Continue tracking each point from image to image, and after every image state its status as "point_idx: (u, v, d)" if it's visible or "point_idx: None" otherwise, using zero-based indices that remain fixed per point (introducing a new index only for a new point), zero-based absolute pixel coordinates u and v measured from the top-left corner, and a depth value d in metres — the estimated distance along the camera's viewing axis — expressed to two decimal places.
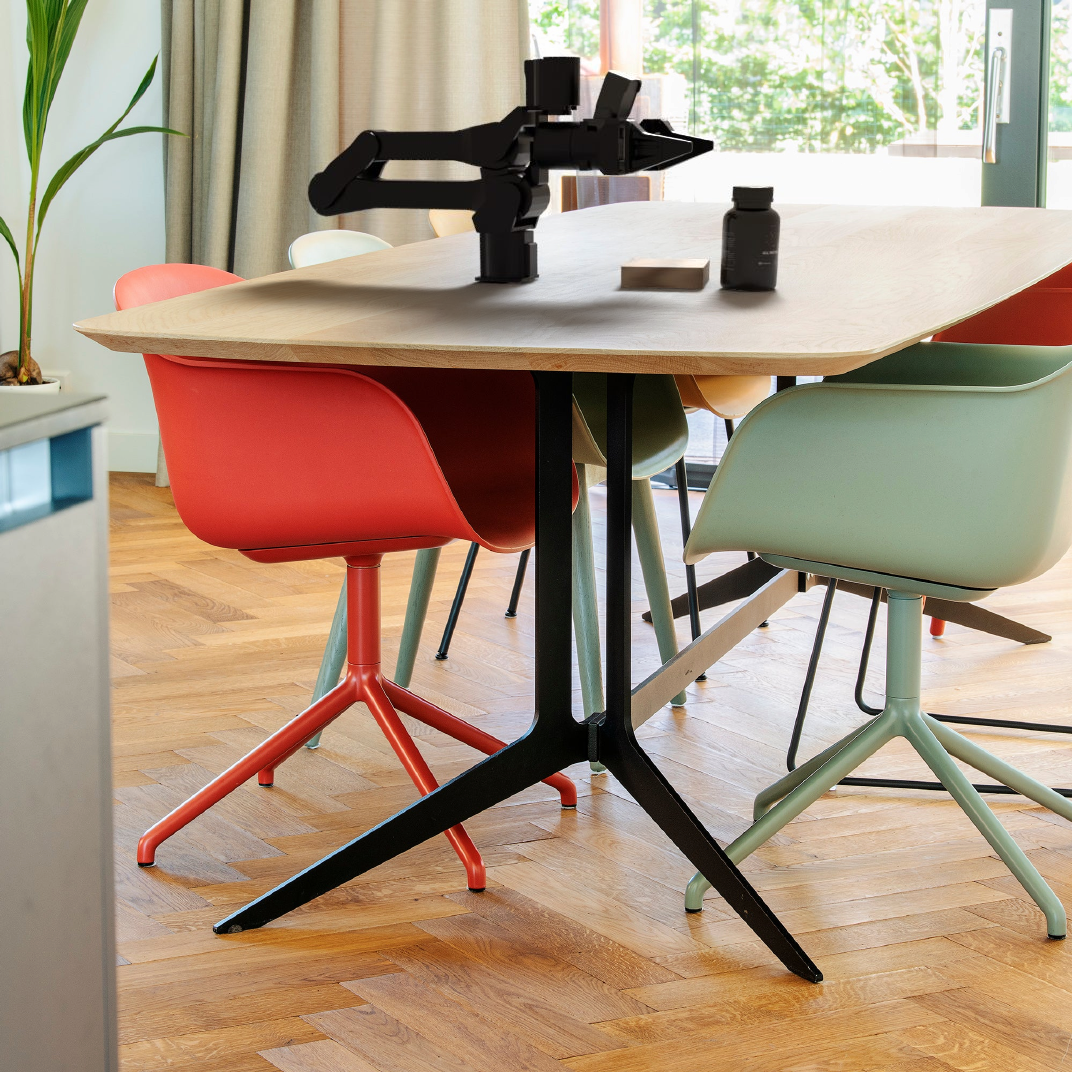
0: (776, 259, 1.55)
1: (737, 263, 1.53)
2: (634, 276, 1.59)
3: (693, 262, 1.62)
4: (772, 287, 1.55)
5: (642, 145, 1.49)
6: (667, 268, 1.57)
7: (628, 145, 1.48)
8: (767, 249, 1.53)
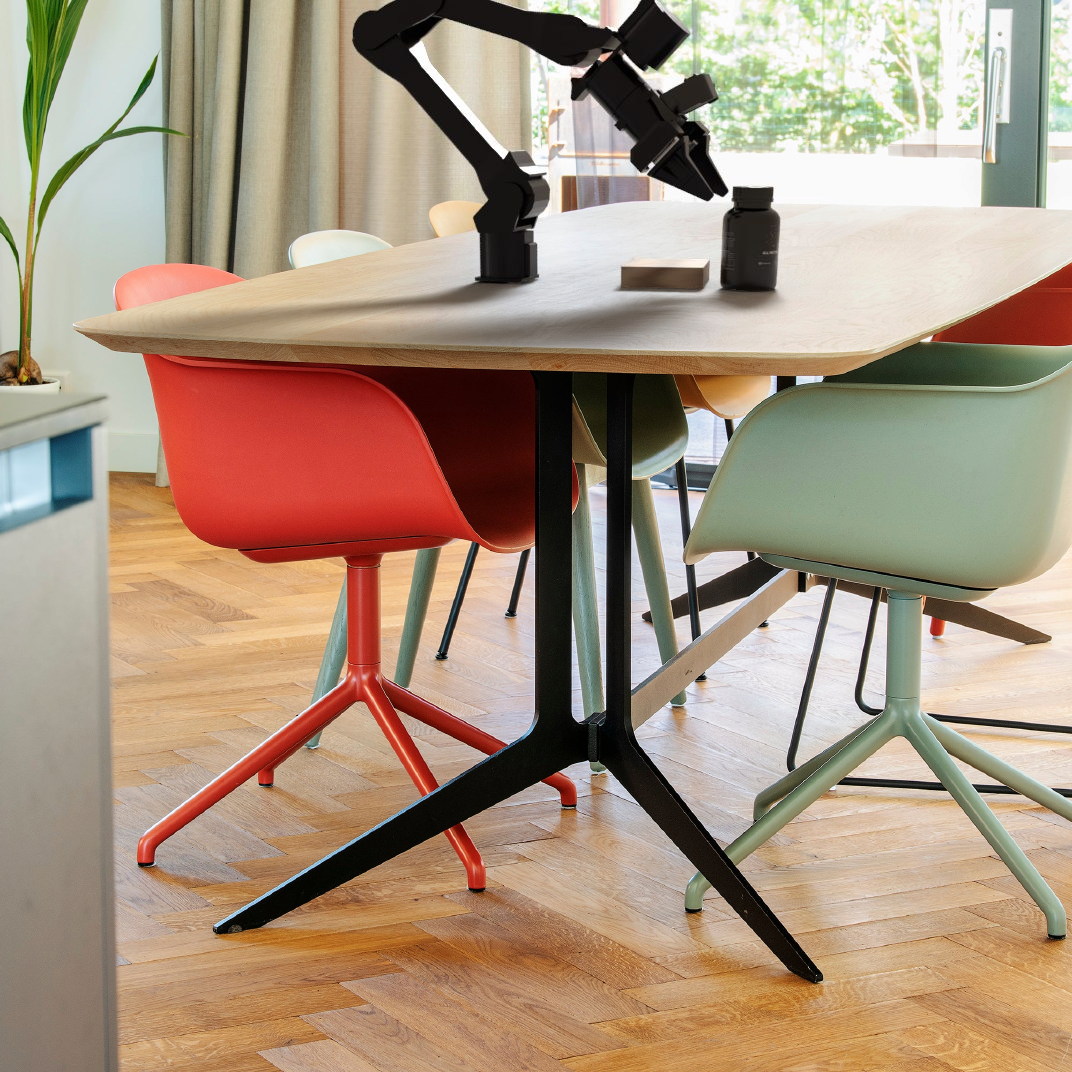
0: (776, 259, 1.55)
1: (737, 263, 1.53)
2: (634, 276, 1.59)
3: (693, 262, 1.62)
4: (772, 287, 1.55)
5: (677, 162, 1.50)
6: (667, 268, 1.57)
7: (667, 157, 1.48)
8: (767, 249, 1.53)
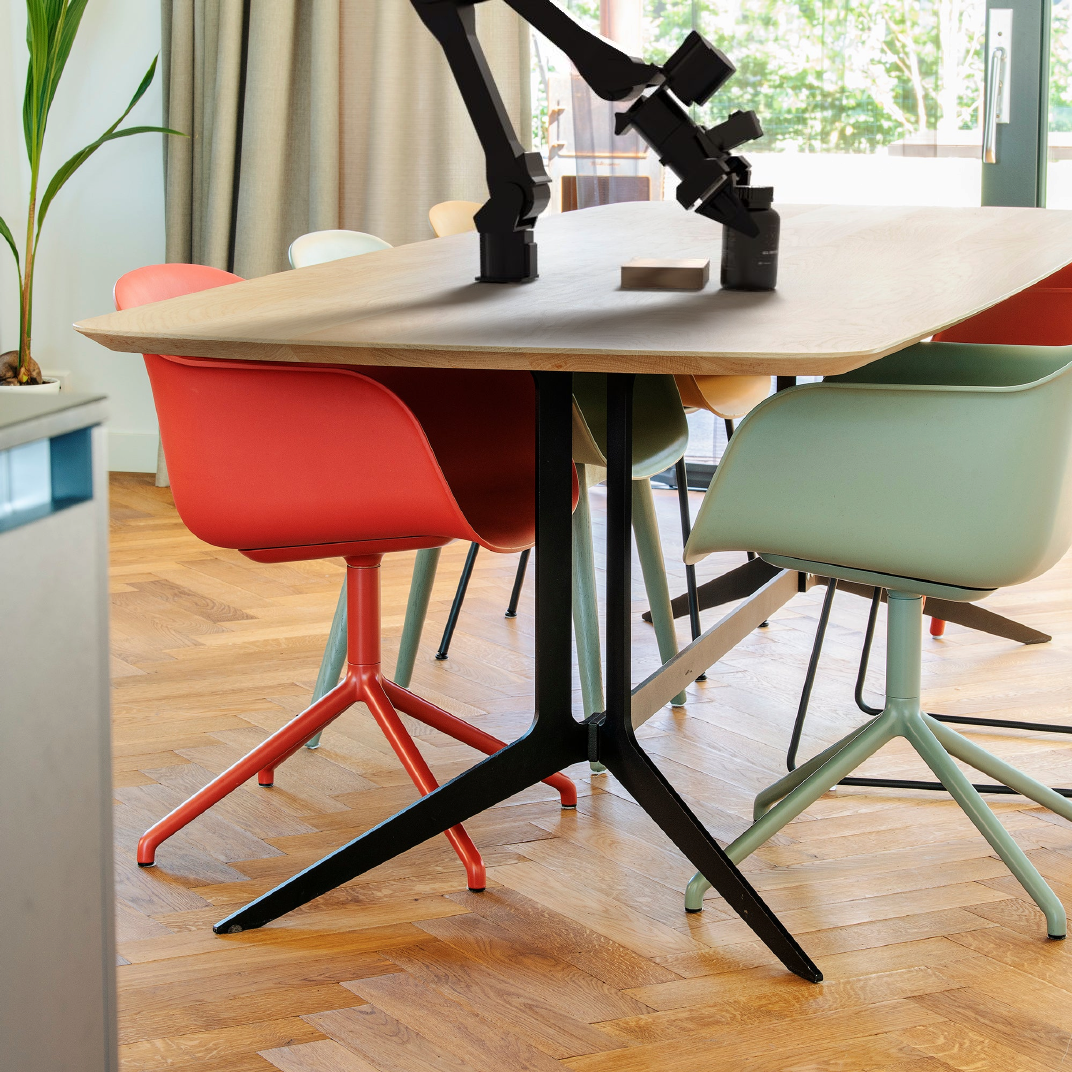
0: (776, 259, 1.54)
1: (737, 263, 1.53)
2: (634, 276, 1.59)
3: (693, 262, 1.62)
4: (772, 287, 1.55)
5: (724, 199, 1.50)
6: (667, 268, 1.57)
7: (715, 194, 1.48)
8: (767, 248, 1.53)
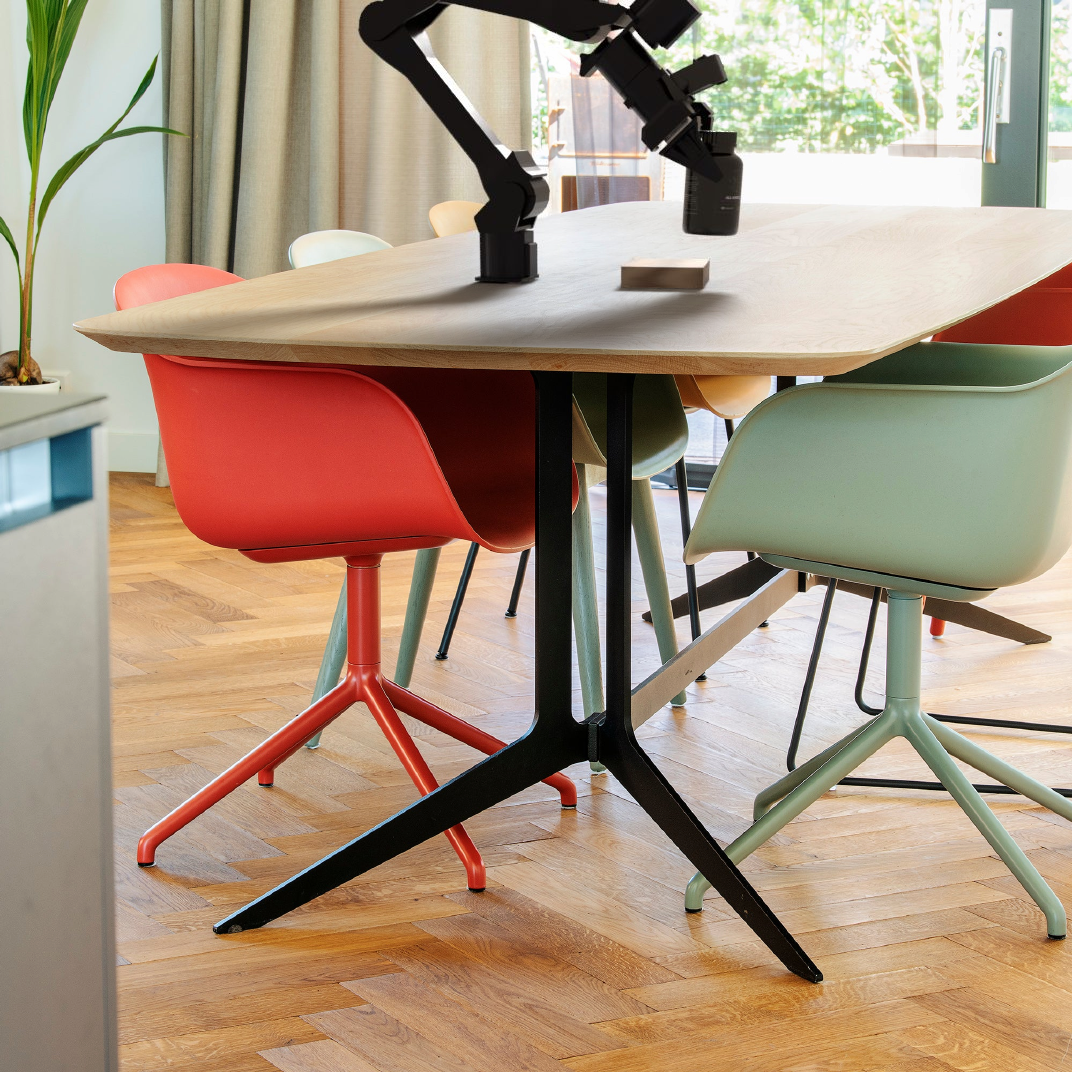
0: (738, 205, 1.55)
1: (700, 208, 1.54)
2: (634, 276, 1.59)
3: (693, 262, 1.62)
4: (734, 233, 1.56)
5: (688, 142, 1.51)
6: (667, 268, 1.57)
7: (680, 136, 1.49)
8: (730, 194, 1.54)
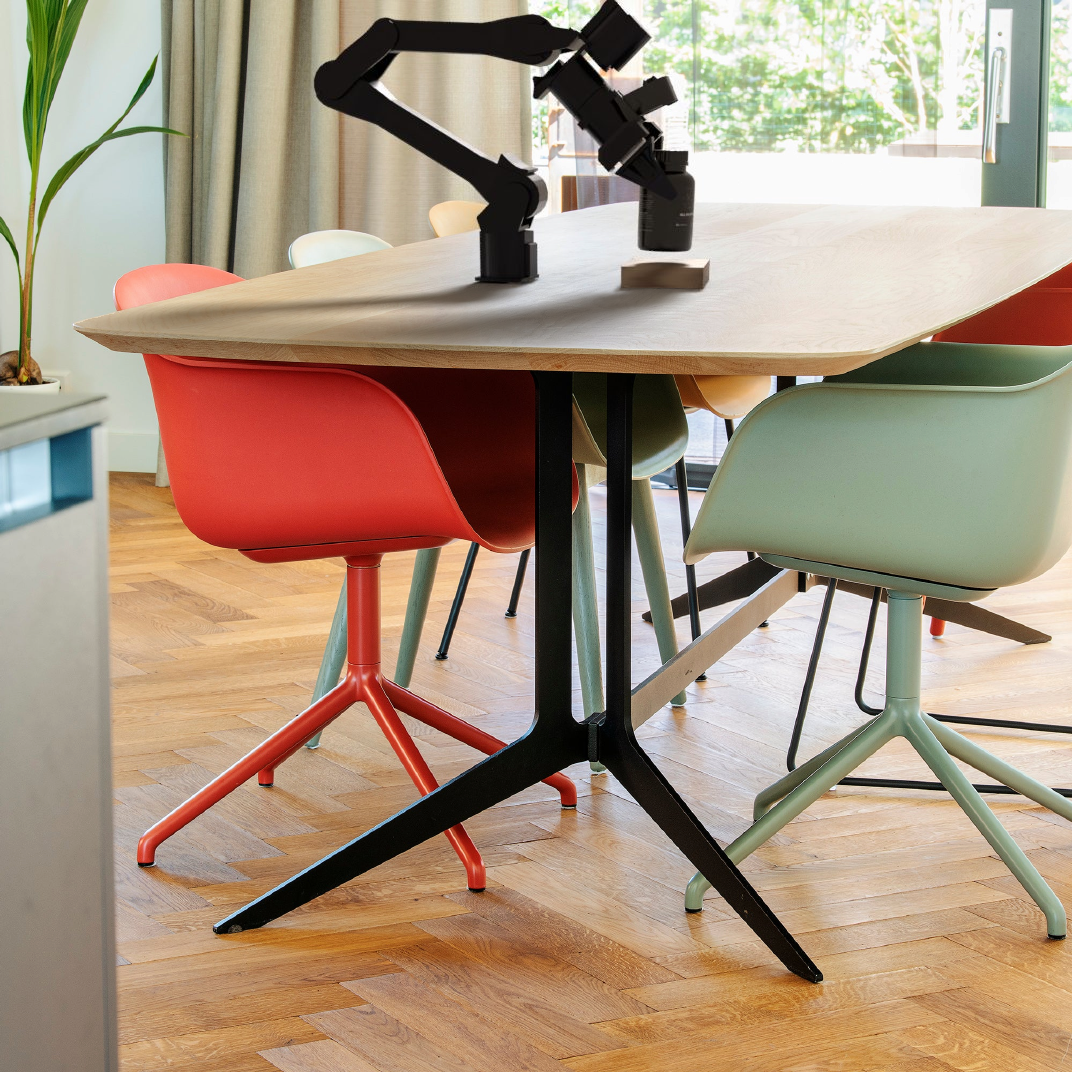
0: (692, 221, 1.59)
1: (655, 225, 1.58)
2: (634, 276, 1.59)
3: (693, 262, 1.62)
4: (688, 248, 1.60)
5: (643, 162, 1.55)
6: (667, 268, 1.57)
7: (635, 156, 1.52)
8: (684, 211, 1.58)
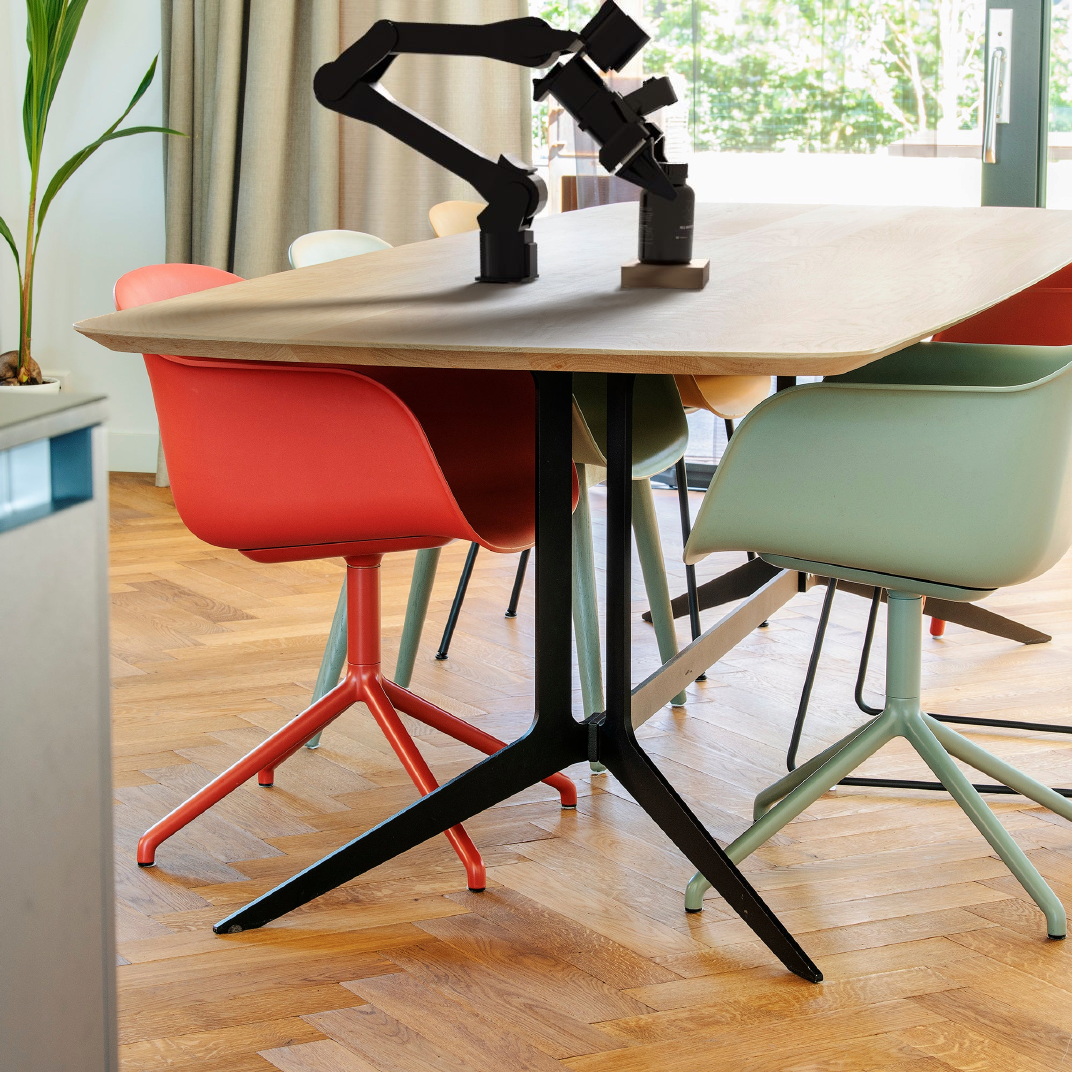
0: (692, 233, 1.60)
1: (655, 238, 1.58)
2: (634, 276, 1.59)
3: (693, 262, 1.62)
4: (688, 260, 1.60)
5: (643, 163, 1.54)
6: (667, 268, 1.57)
7: (635, 157, 1.52)
8: (684, 223, 1.58)
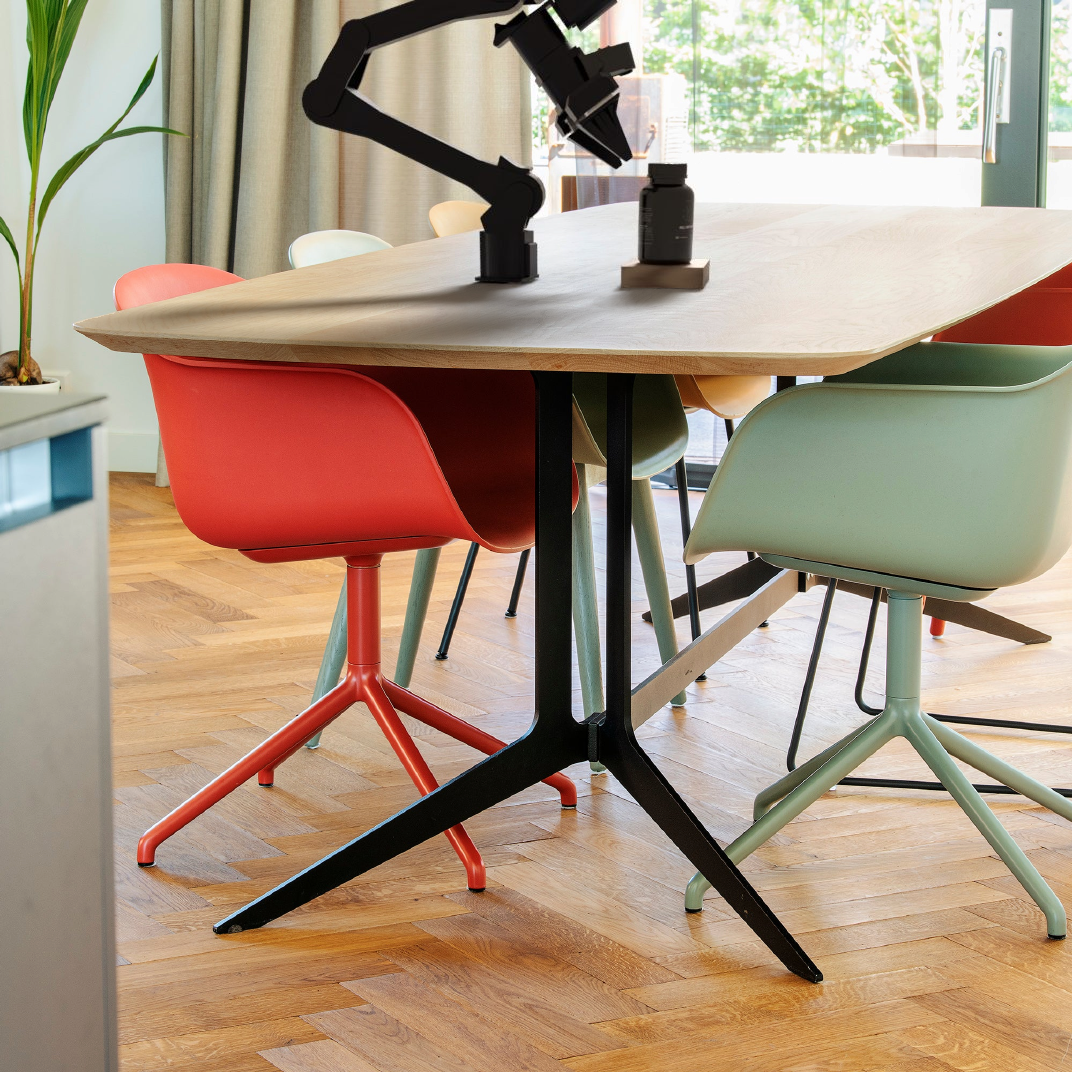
0: (691, 233, 1.60)
1: (655, 238, 1.58)
2: (634, 276, 1.59)
3: (693, 262, 1.62)
4: (688, 260, 1.60)
5: (604, 118, 1.54)
6: (667, 268, 1.57)
7: (602, 108, 1.52)
8: (683, 223, 1.58)
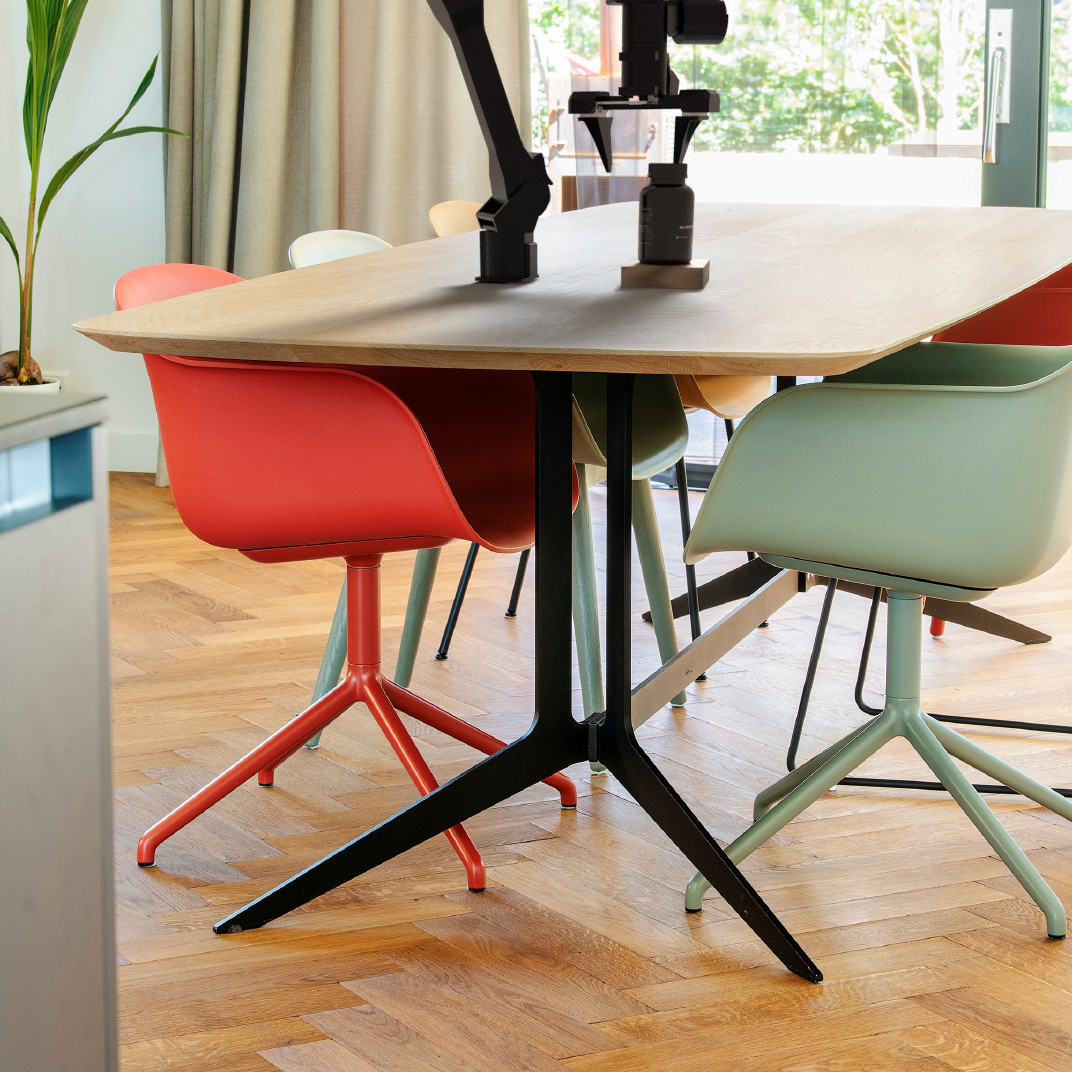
0: (692, 233, 1.60)
1: (655, 238, 1.58)
2: (634, 276, 1.59)
3: (693, 262, 1.62)
4: (688, 261, 1.60)
5: None
6: (667, 268, 1.57)
7: (704, 119, 1.64)
8: (684, 223, 1.58)
